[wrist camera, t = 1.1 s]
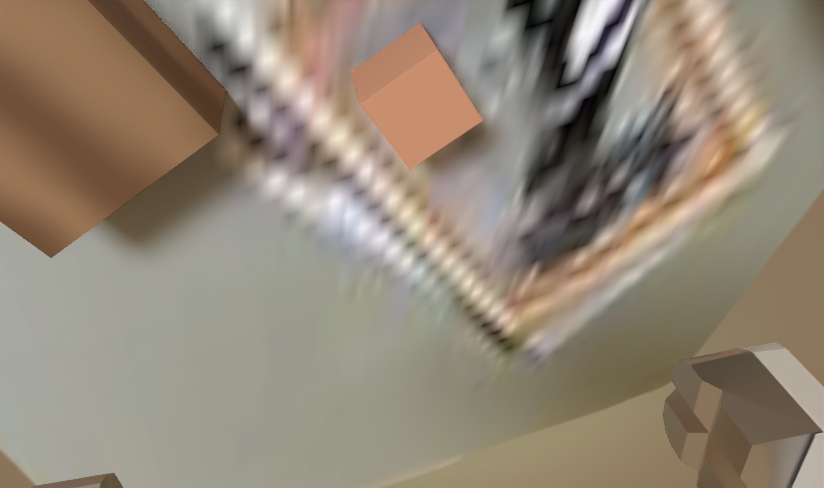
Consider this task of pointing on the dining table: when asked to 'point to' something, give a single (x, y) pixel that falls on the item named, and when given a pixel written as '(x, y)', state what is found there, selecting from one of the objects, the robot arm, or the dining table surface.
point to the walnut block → (92, 112)
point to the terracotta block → (414, 97)
